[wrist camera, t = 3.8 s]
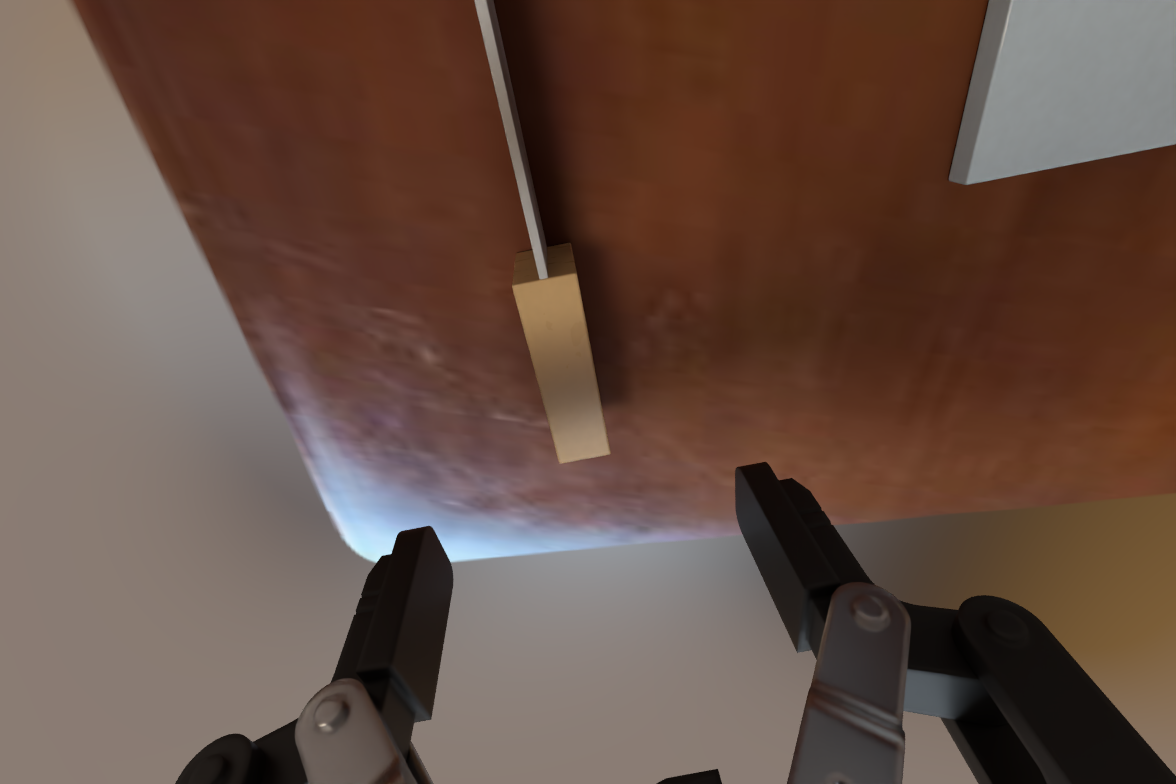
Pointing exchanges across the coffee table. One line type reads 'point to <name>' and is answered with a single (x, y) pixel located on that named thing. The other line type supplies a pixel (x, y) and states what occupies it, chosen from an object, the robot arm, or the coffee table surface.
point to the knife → (548, 293)
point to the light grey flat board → (1067, 86)
